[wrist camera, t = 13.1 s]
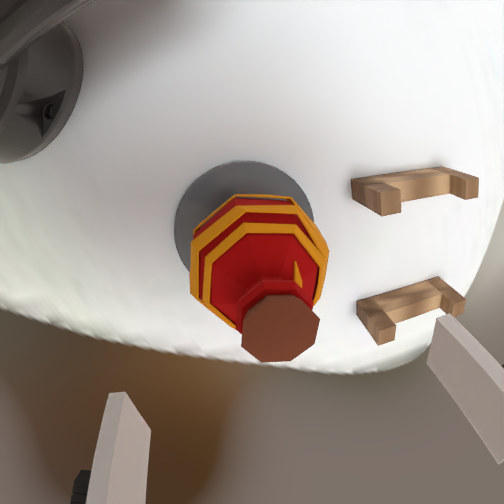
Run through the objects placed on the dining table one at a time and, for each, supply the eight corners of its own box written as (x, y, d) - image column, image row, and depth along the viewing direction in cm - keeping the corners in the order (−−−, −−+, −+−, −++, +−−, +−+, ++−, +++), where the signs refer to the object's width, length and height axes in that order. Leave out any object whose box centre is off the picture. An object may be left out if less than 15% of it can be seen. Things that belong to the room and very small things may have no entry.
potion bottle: (270, 297, 32) (310, 411, 18) (174, 259, 29) (150, 372, 16) (322, 206, 29) (411, 279, 15) (221, 156, 26) (233, 190, 13)
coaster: (194, 302, 32) (194, 306, 32) (160, 178, 27) (158, 179, 26) (317, 275, 33) (319, 279, 32) (302, 150, 28) (304, 150, 27)
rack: (356, 314, 36) (378, 345, 30) (350, 179, 29) (380, 192, 24) (436, 289, 36) (463, 313, 31) (442, 166, 30) (478, 177, 24)
